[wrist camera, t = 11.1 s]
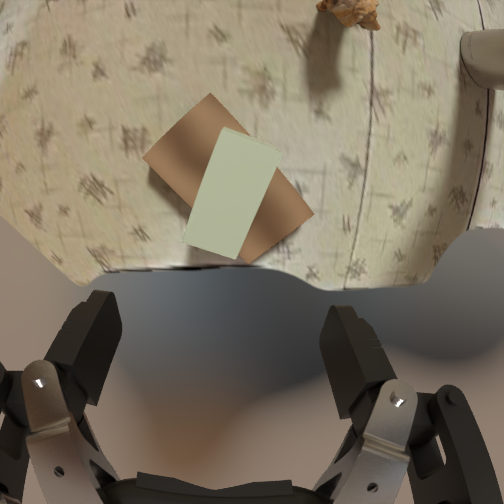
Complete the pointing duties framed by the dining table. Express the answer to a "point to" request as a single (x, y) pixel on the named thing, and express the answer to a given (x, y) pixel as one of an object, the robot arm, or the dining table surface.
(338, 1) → the lion figurine
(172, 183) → the walnut brick
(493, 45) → the robot arm
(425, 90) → the dining table surface
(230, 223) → the sage brick
